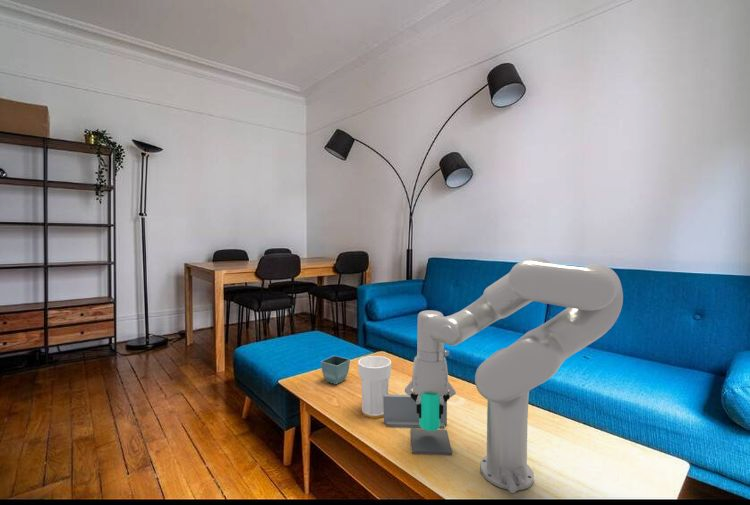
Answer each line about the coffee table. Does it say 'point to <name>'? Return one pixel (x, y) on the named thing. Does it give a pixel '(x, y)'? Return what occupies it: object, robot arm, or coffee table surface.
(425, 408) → the candle
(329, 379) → the flower pot
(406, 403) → the board
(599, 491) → the coffee table surface
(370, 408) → the cup
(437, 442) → the mat
